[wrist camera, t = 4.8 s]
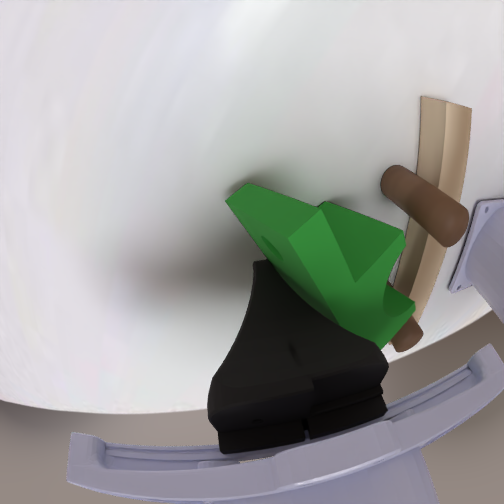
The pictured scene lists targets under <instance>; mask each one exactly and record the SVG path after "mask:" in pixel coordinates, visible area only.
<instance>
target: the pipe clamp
mask: <svg viewBox="0 0 504 504" xmlns="http://www.w3.org/2000/svg"><path fill="white" fill-rule="evenodd" d="M225 202H226V203H227V205H228V206H229V207H230V209H231V210H232V211H233V213H234V214H235V215H236V217H237V218H238V219H239V221H240V222H241V224H242V225H243V226H244V228H245V229H246V230H247V232H248V233H249V234H250V236H251V237H252V238H253V240H254V241H255V243H256V244H257V245H258V247H259V248H260V249H261V251H262V252H263V254H264V255H265V256H266V258H267V259H268V260H269V261H270V262H271V264H272V265H273V267H274V268H275V269H276V271H277V272H278V273H279V274H280V276H281V277H282V278H283V279H284V280H285V281H286V282H287V284H288V285H289V286H290V287H291V288H292V289H293V290H294V291H295V292H296V293H297V294H298V295H299V296H300V297H301V298H302V299H304V300H305V301H306V302H307V303H308V304H309V305H311V306H312V307H313V308H314V309H316V310H317V311H318V312H320V313H321V314H322V315H324V316H325V317H327V318H328V319H330V320H331V321H333V322H334V323H336V324H338V325H339V326H341V327H343V328H344V329H346V330H348V331H350V332H352V333H354V334H356V335H358V336H361V337H363V338H365V339H368V340H370V341H373V342H375V343H376V344H377V346H378V347H379V349H380V350H381V349H382V348H383V347H384V346H385V345H386V344H387V343H388V342H389V341H390V340H391V339H392V338H393V336H394V335H395V334H396V333H397V332H398V331H399V330H400V329H401V327H402V326H403V325H404V324H405V323H406V322H407V320H408V319H409V318H410V317H411V316H412V314H413V313H414V312H415V311H416V306H415V301H413V300H411V299H410V298H408V297H407V296H405V295H403V294H402V293H400V292H399V291H397V290H395V289H394V288H392V287H390V286H389V285H387V284H386V283H387V280H388V277H389V275H390V272H391V270H392V268H393V266H394V264H395V262H396V260H397V258H398V257H399V255H400V254H401V252H402V251H403V249H404V248H405V247H406V242H405V237H404V232H403V230H400V229H398V228H395V227H393V226H391V225H388V224H386V223H383V222H381V221H378V220H375V219H373V218H370V217H368V216H365V215H362V214H360V213H357V212H354V211H352V210H349V209H346V208H343V207H341V206H338V205H335V204H332V203H329V202H326V201H325V202H323V203H322V204H321V205H320V206H319V207H318V208H317V207H315V206H312V205H309V204H307V203H304V202H301V201H299V200H296V199H293V198H290V197H288V196H285V195H282V194H279V193H276V192H273V191H271V190H268V189H265V188H262V187H259V186H256V185H253V184H250V183H247V184H245V185H244V186H243V187H242V188H240V189H239V190H238V191H237V192H235V193H234V194H233V195H232V196H230V197H229V198H228V199H227V200H225Z"/></svg>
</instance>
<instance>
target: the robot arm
mask: <svg viewBox="0 0 504 504" xmlns="http://www.w3.org/2000/svg"><path fill="white" fill-rule="evenodd" d="M253 270H254V276H253V285H252V291H251V296H250V300H249V304H248V308H247V311H246V314H245V317H244V320H243V323H242V326H241V328H240V330H239V333H238V335H237V337H236V339H235V342H234V344H233V345H232V347H231V349H230V351H229V353H228V355H227V356H226V358H225V360H224V361H223V363H222V364H221V366H220V367H219V369H218V370H217V372H216V373H215V375H214V376H213V378H212V381H211V385H210V389H209V394H208V402H207V409H208V419H209V421H210V423H211V424H212V425H213V427H214V428H215V429H216V430H217V431H218V439H219V444H218V445H202V446H141V445H140V446H139V445H127V444H116V443H108V442H105V441H104V440H102V439H101V438H99V437H96V436H93V435H88V434H82V433H76V432H72V433H71V439H70V446H69V456H68V465H67V482H69V483H72V484H74V485H78V486H81V487H84V488H87V489H90V490H93V491H97V492H101V493H105V494H109V495H114V496H119V497H125V498H131V499H137V500H144V501H152V502H163V503H176V504H440V503H439V500H438V497H437V494H436V491H435V488H434V485H433V482H432V479H431V476H430V473H429V471H428V468H427V465H426V462H425V460H424V457H423V455H422V452H421V448H423V447H425V446H427V445H429V444H430V443H432V442H434V441H435V440H437V439H439V438H440V437H442V436H444V435H445V434H447V433H448V432H450V431H451V430H453V429H454V428H456V427H457V426H459V425H460V424H462V423H463V422H465V421H466V420H467V419H468V418H470V417H471V416H473V415H474V414H475V413H477V412H478V411H479V410H481V409H482V408H483V407H485V406H486V405H487V404H488V403H489V402H491V401H492V400H493V399H494V398H495V397H496V396H497V395H498V394H499V393H501V392H502V391H503V390H504V364H503V362H502V360H501V359H500V357H499V356H498V354H497V352H496V351H495V349H494V348H493V346H492V345H491V344H488V345H486V346H485V347H483V348H482V349H480V350H479V351H477V352H476V353H475V354H474V355H473V356H472V357H471V358H470V360H469V361H468V363H467V364H465V365H464V366H462V367H460V368H459V369H457V370H456V371H454V372H452V373H450V374H448V375H447V376H445V377H443V378H441V379H440V380H437V381H436V382H434V383H432V384H430V385H428V386H426V387H424V388H422V389H420V390H418V391H416V392H414V393H411V394H410V395H407V396H405V397H403V398H400V399H398V400H396V401H393V402H391V403H389V404H387V405H386V404H385V402H384V400H383V397H382V394H383V389H382V387H381V385H380V383H381V382H382V380H383V378H384V376H385V375H386V373H387V371H388V368H389V366H388V362H387V360H386V358H385V356H384V354H383V353H382V351H381V350H380V349H379V347H378V346H377V344H376V343H375V342H373V341H370V340H368V339H365V338H363V337H361V336H358V335H356V334H354V333H352V332H350V331H348V330H346V329H344V328H343V327H341V326H339V325H338V324H336V323H334V322H333V321H331V320H330V319H328V318H327V317H325V316H324V315H322V314H321V313H320V312H318V311H317V310H316V309H314V308H313V307H312V306H311V305H309V304H308V303H307V302H306V301H305V300H304V299H302V298H301V297H300V296H299V295H298V294H297V293H296V292H295V291H294V290H293V289H292V288H291V287H290V286H289V285H288V284H287V282H286V281H285V280H284V279H283V278H282V277H281V276H280V274H279V273H278V272H277V271H276V269H275V268H274V267H273V265H272V264H271V262H270V261H269V260H268V259H266V260H260V261H254V263H253ZM472 285H473V286H474V287H475V288H476V290H477V291H478V292H479V293H480V294H481V295H482V297H483V298H484V299H485V300H486V302H487V303H488V304H489V305H490V307H491V308H492V309H493V310H494V312H495V313H496V314H497V316H498V317H499V318H500V320H501V321H502V322H503V324H504V199H499V200H488V201H481V202H479V203H478V204H477V207H476V210H475V214H474V217H473V221H472V225H471V228H470V231H469V235H468V238H467V241H466V244H465V247H464V250H463V253H462V256H461V258H460V261H459V264H458V267H457V269H456V272H455V274H454V277H453V279H452V282H451V284H450V286H449V291H450V292H451V293H455V292H457V291H460V290H463V289H465V288H467V287H470V286H472ZM272 456H274V457H272ZM266 457H270V458H266ZM259 458H265V459H261V460H256V461H251V462H246V463H240V462H238V461H245V460H253V459H259Z"/></svg>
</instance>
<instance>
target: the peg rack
mask: <svg viewBox="0 0 504 504" xmlns="http://www.w3.org/2000/svg"><path fill="white" fill-rule="evenodd" d="M471 113H472V108H468V107H465V106H461V105H458V104H454V103H450V102H446V101H442V100H437V99H432V98H427V97H422V96H421V128H420V144H419V156H418V166H417V174H415V173H413V172H411V171H410V170H408V169H406V168H404V167H403V166H400V165H394V166H392V167H390V168H389V169H387V170H386V172H385V173H384V175H383V177H382V180H381V190H382V192H383V194H384V195H385V196H386V197H387V198H389V199H390V200H391V201H392V202H393V203H395V204H396V205H397V206H398V207H399V208H401V209H402V210H403V211H404V212H405V213H407V214H408V215H409V216H410V219H409V224H408V229H407V234H406V238H405V242H406V247H405V248H404V249H403V251H402V256H401V260H400V264H399V267H398V271H397V275H396V278H395V282H394V285H393V286H392V285H391V283H390V282H389V281H388V280H387V283H386V284H387V285H389V286H390V287H392V288H394V289H395V290H397V291H399V292H400V293H402V294H403V295H405V296H407V297H408V298H410V299H411V300H413V301H415V306H416V311H415V312H414V313H413V314H412V316H411V317H410V318H409V319H408V320H407V322H406V323H405V324H404V325H403V326H402V327H401V329H400V330H399V331H398V332H397V333H396V334H395V335H394V336H393V338H392V339H391V340H390V341H389V342H388V343H389V345H391V344H392V345H393V346H394V348H395V350H396V352H404V351H406V350H408V349H410V348H412V347H413V346H414V345H416V344H417V343H418V342H419V341H420V339H421V338H422V336H423V331H422V329H421V328H420V326H419V325H418V322H419V319H420V317H421V315H422V313H423V311H424V308H425V306H426V304H427V301H428V299H429V297H430V294H431V292H432V289H433V287H434V284H435V282H436V279H437V276H438V274H439V271H440V268H441V265H442V262H443V259H444V256H445V253H446V250H447V247H451V246H453V245H454V244H456V243H457V242H458V241H459V240H460V239H461V238H462V236H463V235H464V233H465V231H466V229H467V226H468V222H469V213H468V210H467V209H466V208H465V207H464V206H463V205H461V204H460V203H459V202H460V198H461V193H462V188H463V183H464V177H465V171H466V165H467V158H468V150H469V141H470V130H471Z"/></svg>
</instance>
